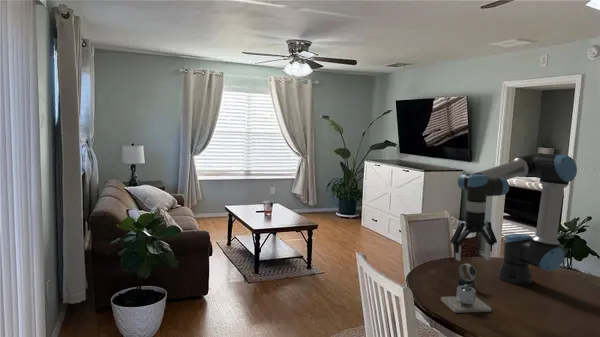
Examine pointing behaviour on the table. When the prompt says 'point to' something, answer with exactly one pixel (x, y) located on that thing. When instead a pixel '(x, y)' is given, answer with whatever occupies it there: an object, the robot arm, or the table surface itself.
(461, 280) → the watch
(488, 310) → the block
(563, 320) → the table surface
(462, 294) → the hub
